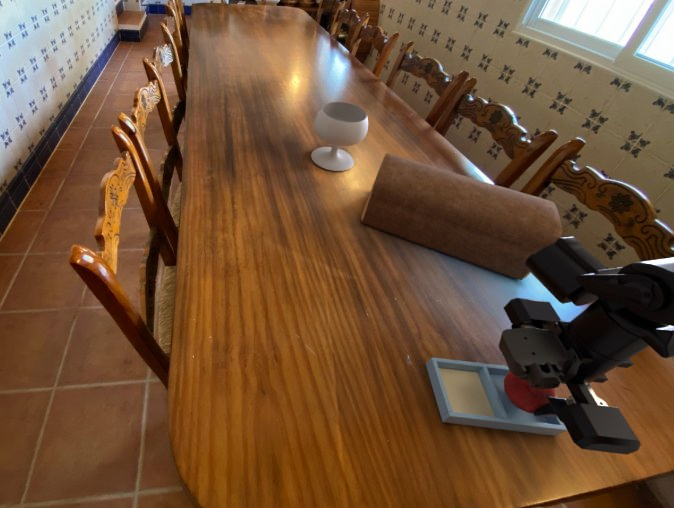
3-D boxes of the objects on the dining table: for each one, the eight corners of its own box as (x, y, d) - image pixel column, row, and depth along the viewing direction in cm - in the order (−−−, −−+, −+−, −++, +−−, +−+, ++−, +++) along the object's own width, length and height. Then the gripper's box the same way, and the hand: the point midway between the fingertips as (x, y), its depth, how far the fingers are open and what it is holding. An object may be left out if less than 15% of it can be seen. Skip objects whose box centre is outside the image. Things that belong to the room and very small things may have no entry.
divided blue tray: (556, 436, 51) (567, 430, 49) (442, 422, 51) (450, 415, 50) (526, 376, 57) (535, 369, 56) (425, 364, 58) (431, 357, 56)
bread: (370, 191, 92) (388, 144, 83) (518, 240, 82) (557, 192, 73) (358, 224, 82) (376, 174, 73) (524, 284, 72) (569, 235, 63)
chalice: (336, 180, 95) (351, 130, 85) (297, 156, 102) (306, 108, 93) (366, 162, 102) (382, 114, 93) (327, 141, 110) (339, 95, 100)
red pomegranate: (544, 422, 52) (581, 400, 47) (506, 420, 52) (538, 398, 47) (522, 380, 56) (553, 357, 51) (486, 379, 56) (514, 355, 51)
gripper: (496, 267, 49) (448, 326, 59) (581, 416, 35) (498, 461, 45) (578, 276, 49) (515, 334, 59) (696, 430, 35) (587, 472, 45)
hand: (525, 391), depth 52 cm, fingers closed on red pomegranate, 6 cm apart
